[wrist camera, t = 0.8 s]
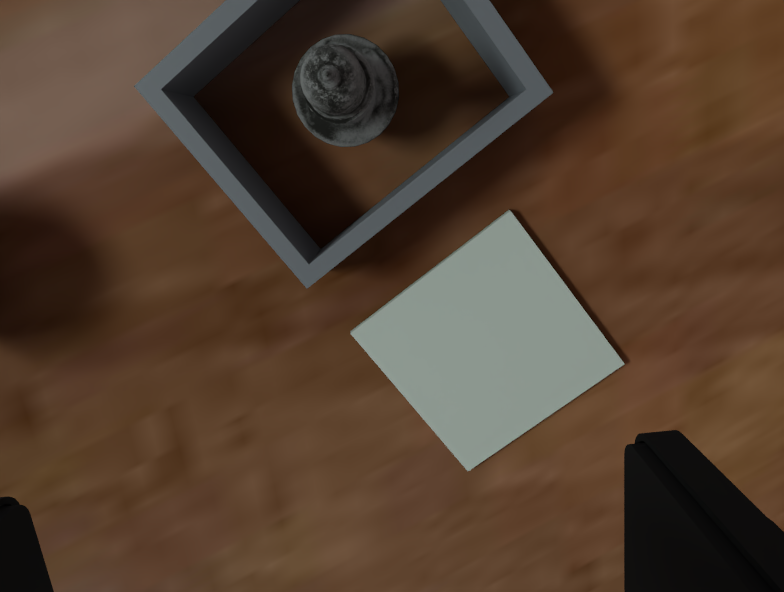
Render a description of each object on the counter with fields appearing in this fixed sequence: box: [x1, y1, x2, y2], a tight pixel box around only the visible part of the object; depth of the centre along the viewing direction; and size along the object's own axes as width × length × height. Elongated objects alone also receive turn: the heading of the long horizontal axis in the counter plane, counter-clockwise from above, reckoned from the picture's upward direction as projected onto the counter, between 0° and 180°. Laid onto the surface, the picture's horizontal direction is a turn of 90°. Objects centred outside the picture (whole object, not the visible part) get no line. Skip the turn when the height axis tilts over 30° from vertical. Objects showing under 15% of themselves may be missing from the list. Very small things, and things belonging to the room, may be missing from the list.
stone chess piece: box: [292, 34, 399, 147], centre depth 30 cm, size 6×6×12 cm
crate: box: [134, 0, 553, 288], centre depth 33 cm, size 17×14×5 cm
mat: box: [350, 210, 624, 471], centre depth 39 cm, size 13×13×1 cm
